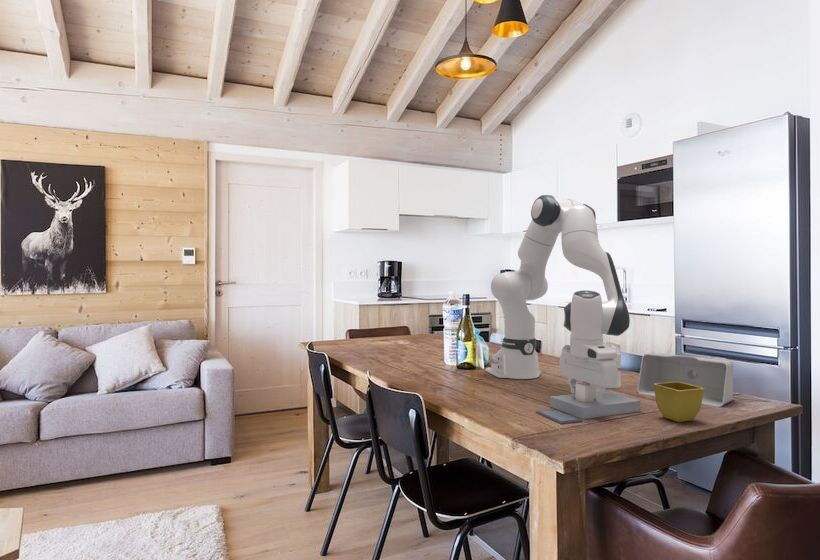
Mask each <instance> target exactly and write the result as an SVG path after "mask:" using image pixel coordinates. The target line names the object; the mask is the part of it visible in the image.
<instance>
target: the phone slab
mask: <svg viewBox="0 0 820 560" xmlns="http://www.w3.org/2000/svg"><path fill="white" fill-rule="evenodd" d="M535 414H537V415H539V416H542V417H543V418H545V419H548V420H550V421H553V422H554V423H557V424H559V425H570V424H578V423H579V424H580V423H583V419H581V418H578V417H576V416H574V415H571V414H568V413H566V412H563V411H560V410H558V409H547V410H546V409H545V410H537V411H535Z"/></svg>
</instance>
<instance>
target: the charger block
mask: <svg viewBox="0 0 820 560" xmlns="http://www.w3.org/2000/svg"><path fill="white" fill-rule="evenodd" d="M597 390H598V389H596V385H593V384H590V383H586V382H583V381H581V382H576V400H578V401H581V402H584V403H587V402H595V401H594V394H596V393H597Z"/></svg>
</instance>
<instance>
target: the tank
mask: <svg viewBox="0 0 820 560" xmlns="http://www.w3.org/2000/svg"><path fill="white" fill-rule="evenodd" d="M694 373H695V374H694ZM667 382H682V383H686V384H690V385H694V386H698V387H701V388H704V393H703V399H702V404H701V405H706V406H710V407H715V408H717V407H719V408H720V407H723V406H724V405H727V404H728V403H730V402H731V401H733V398H734V397H733V396H734V391H733V390H734V365H733V363H732V362H731V361H730V360H726V359H718V358H717V359H716V358H708V357H707V358H706V357H700V356H692V355H691V356H688V355H680V354H671V353H661V352H649V353H645V354H643V355H642V357H641V362H640V367H639V375H638V382H637V389H636V390H637V393H638V394H639V395H645V396H649V395H650V397H651V396H652V397H655V388H654V384H656V383H667Z"/></svg>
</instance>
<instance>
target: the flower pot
mask: <svg viewBox="0 0 820 560" xmlns="http://www.w3.org/2000/svg"><path fill="white" fill-rule="evenodd" d="M654 388H655V396H654V397H655V402H656V406H657V408H658V410H659V412H660V413H661V415H662V416H663V418H665V419H667V420H671V421H674V422H677V423H683V422H689V421H693V420H694V419H695V418H696V416H697V415H698V414H699V412H700V411H701V410H700V409H701V408H702V405H703V404H702V399H703V393H704V388H701V387H698V386H694V385H690V384H686V383H682V382H667V383H656V384H654Z"/></svg>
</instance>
